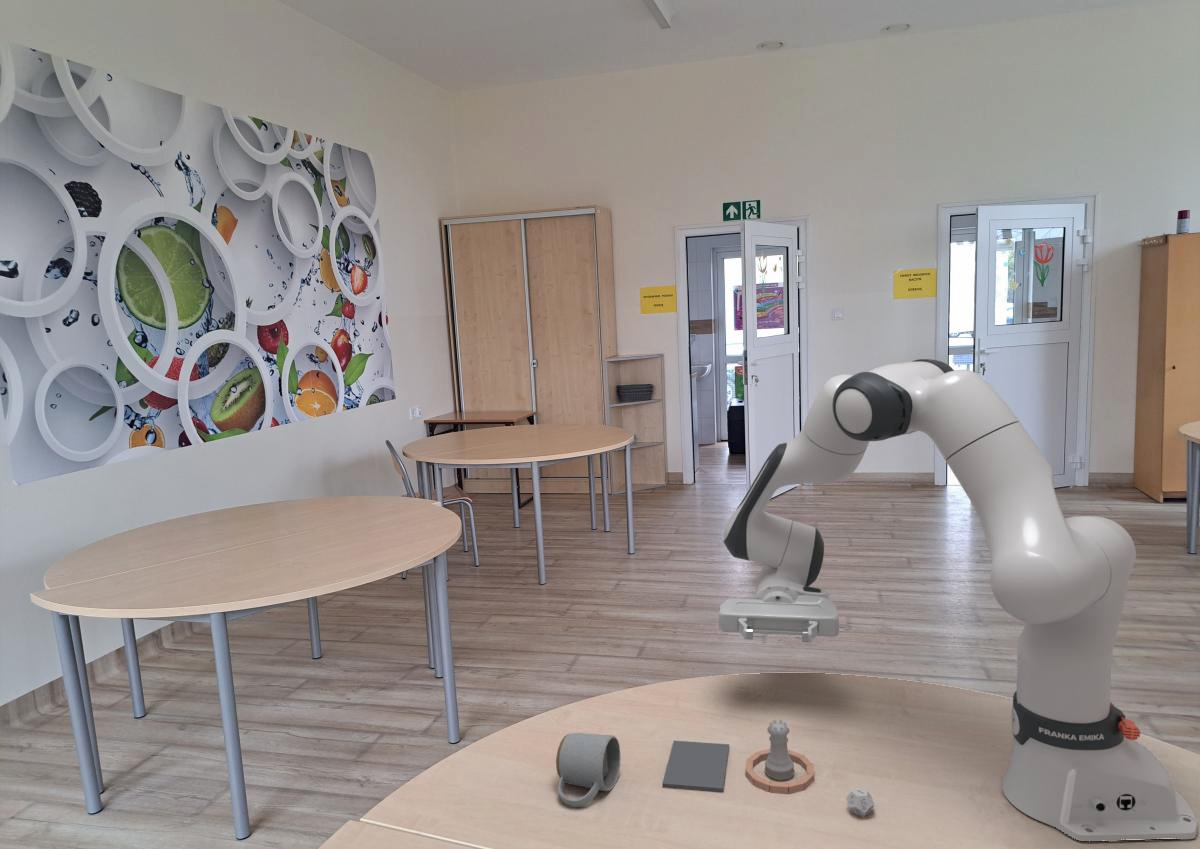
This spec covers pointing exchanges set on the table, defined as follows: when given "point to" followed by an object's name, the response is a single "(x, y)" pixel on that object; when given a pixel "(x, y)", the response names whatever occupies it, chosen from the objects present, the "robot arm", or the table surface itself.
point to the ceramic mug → (587, 764)
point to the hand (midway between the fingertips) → (777, 636)
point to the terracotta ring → (778, 786)
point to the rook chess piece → (779, 753)
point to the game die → (860, 801)
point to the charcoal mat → (697, 766)
